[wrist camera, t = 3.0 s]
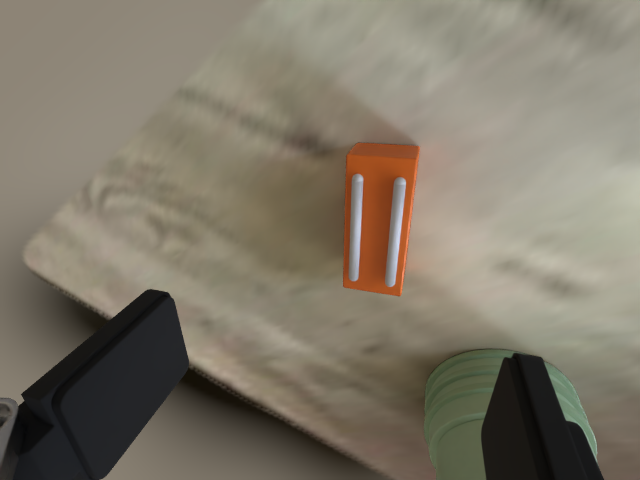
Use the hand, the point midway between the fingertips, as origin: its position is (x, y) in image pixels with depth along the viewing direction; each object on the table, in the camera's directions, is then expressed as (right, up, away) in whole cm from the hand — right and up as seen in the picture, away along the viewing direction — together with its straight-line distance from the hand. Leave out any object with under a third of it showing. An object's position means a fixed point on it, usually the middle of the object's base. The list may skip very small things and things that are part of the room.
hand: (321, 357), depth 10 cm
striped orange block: (+3, +5, +8) cm, 10 cm away
